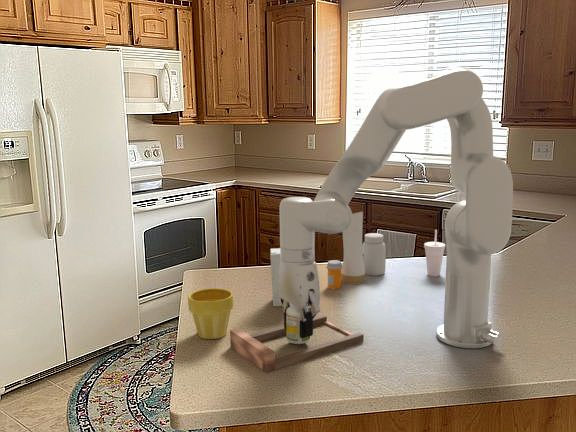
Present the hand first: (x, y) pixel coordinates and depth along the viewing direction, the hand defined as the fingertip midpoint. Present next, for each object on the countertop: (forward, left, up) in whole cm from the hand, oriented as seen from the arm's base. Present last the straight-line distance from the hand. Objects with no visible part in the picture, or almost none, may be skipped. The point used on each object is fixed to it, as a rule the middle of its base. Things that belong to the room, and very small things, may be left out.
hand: (298, 331), depth 129 cm
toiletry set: (+28, -41, -3) cm, 50 cm away
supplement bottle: (0, 0, -2) cm, 2 cm away
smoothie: (+18, -64, -3) cm, 66 cm away
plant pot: (+17, +13, -3) cm, 21 cm away
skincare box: (+24, -13, -3) cm, 27 cm away
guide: (0, 0, -3) cm, 3 cm away
